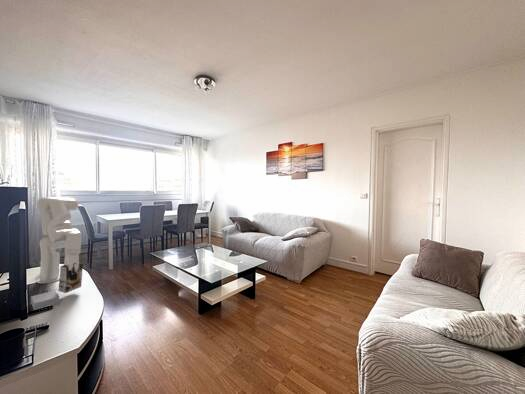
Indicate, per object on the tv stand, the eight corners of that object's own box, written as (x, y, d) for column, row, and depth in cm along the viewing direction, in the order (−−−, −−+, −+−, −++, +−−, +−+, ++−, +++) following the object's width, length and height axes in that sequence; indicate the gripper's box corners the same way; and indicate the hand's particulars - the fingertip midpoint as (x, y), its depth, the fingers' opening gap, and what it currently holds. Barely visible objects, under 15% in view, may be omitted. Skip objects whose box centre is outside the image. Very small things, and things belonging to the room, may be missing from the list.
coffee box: (66, 293, 127) (67, 267, 126) (58, 291, 128) (59, 266, 128) (81, 286, 136) (83, 262, 135) (74, 284, 137) (75, 261, 136)
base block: (30, 304, 119) (30, 296, 119) (54, 298, 128) (54, 290, 128) (33, 312, 113) (34, 303, 113) (59, 304, 121) (59, 296, 121)
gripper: (60, 248, 132) (58, 275, 133) (69, 255, 123) (67, 284, 124) (75, 246, 139) (73, 271, 139) (85, 252, 130) (83, 280, 130)
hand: (71, 277), depth 132 cm, fingers closed on coffee box, 8 cm apart
